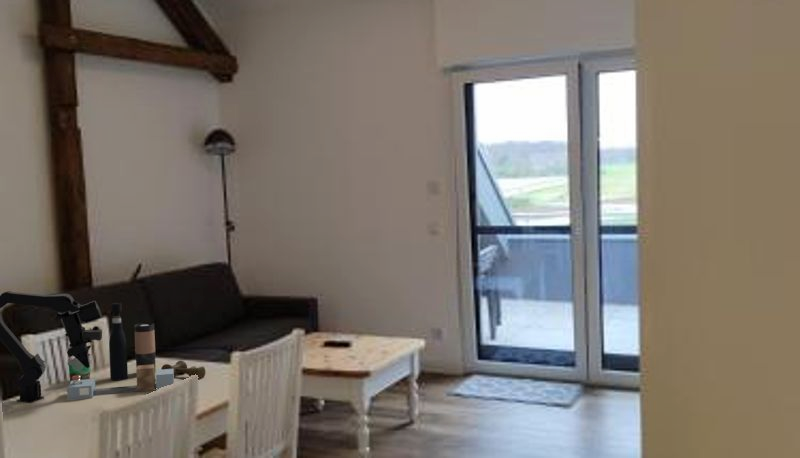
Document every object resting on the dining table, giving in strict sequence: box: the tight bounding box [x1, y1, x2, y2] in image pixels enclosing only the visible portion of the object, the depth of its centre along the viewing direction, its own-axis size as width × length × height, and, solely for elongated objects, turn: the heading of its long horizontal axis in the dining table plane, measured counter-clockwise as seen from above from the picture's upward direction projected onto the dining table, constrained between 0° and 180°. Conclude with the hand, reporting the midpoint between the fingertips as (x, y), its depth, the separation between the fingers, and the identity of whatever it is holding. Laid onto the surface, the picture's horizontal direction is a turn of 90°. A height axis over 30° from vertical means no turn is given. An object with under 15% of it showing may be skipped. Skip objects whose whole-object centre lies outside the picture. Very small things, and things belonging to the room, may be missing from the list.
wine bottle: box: [108, 302, 129, 381], centre depth 284 cm, size 6×6×30 cm
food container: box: [67, 352, 93, 382], centre depth 282 cm, size 12×6×10 cm, turn 179°
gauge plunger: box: [72, 375, 81, 385], centre depth 261 cm, size 3×3×5 cm
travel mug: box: [134, 322, 156, 371], centre depth 292 cm, size 8×8×20 cm
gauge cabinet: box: [66, 378, 96, 401], centre depth 262 cm, size 8×10×4 cm
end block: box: [155, 369, 175, 390], centre depth 270 cm, size 6×8×6 cm
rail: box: [93, 383, 157, 396], centre depth 266 cm, size 22×3×2 cm, turn 106°
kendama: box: [160, 360, 206, 380], centre depth 286 cm, size 6×10×20 cm
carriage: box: [135, 364, 156, 392], centre depth 268 cm, size 6×6×8 cm
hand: (88, 367), depth 262 cm, fingers closed
